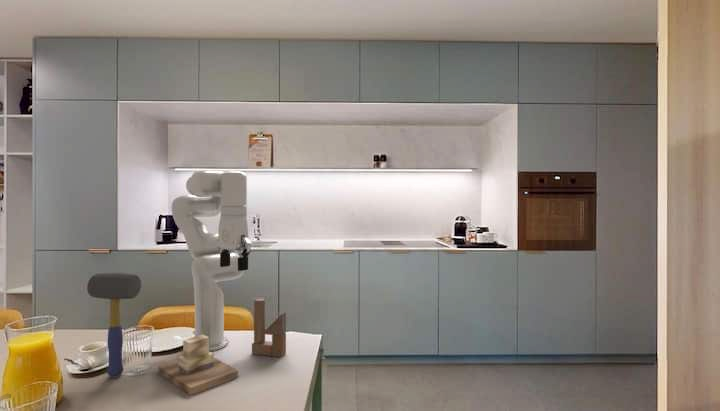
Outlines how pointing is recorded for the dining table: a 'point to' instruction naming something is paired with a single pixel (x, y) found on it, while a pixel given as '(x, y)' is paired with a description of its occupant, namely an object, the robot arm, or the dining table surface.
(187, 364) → the block
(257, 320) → the wooden block
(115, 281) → the rubber mallet
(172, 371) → the walnut board
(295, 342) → the dining table surface
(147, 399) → the dining table surface
